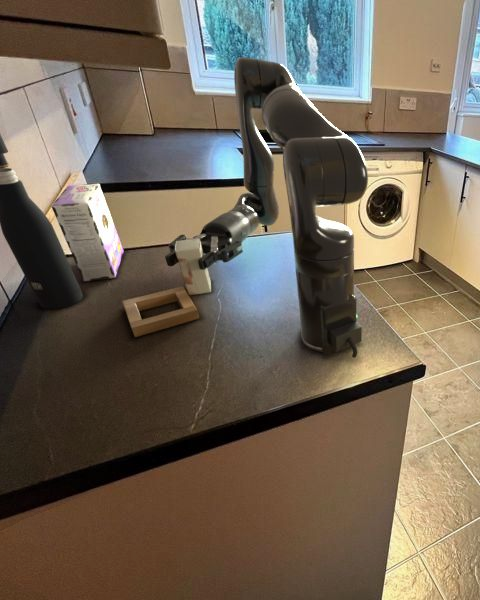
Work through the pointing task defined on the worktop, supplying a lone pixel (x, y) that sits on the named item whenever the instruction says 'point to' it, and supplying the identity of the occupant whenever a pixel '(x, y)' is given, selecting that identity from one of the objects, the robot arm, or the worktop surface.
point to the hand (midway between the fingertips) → (184, 263)
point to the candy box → (89, 231)
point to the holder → (161, 320)
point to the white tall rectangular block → (192, 266)
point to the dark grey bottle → (34, 243)
